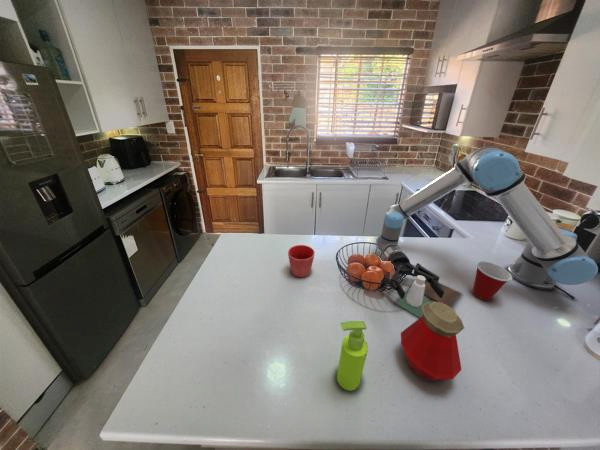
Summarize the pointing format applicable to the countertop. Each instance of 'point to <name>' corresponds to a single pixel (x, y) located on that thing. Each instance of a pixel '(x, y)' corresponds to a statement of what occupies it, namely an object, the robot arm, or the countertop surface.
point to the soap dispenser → (352, 355)
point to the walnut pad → (448, 294)
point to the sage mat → (413, 310)
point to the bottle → (433, 343)
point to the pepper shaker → (416, 292)
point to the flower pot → (301, 260)
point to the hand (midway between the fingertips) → (422, 295)
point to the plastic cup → (489, 280)
